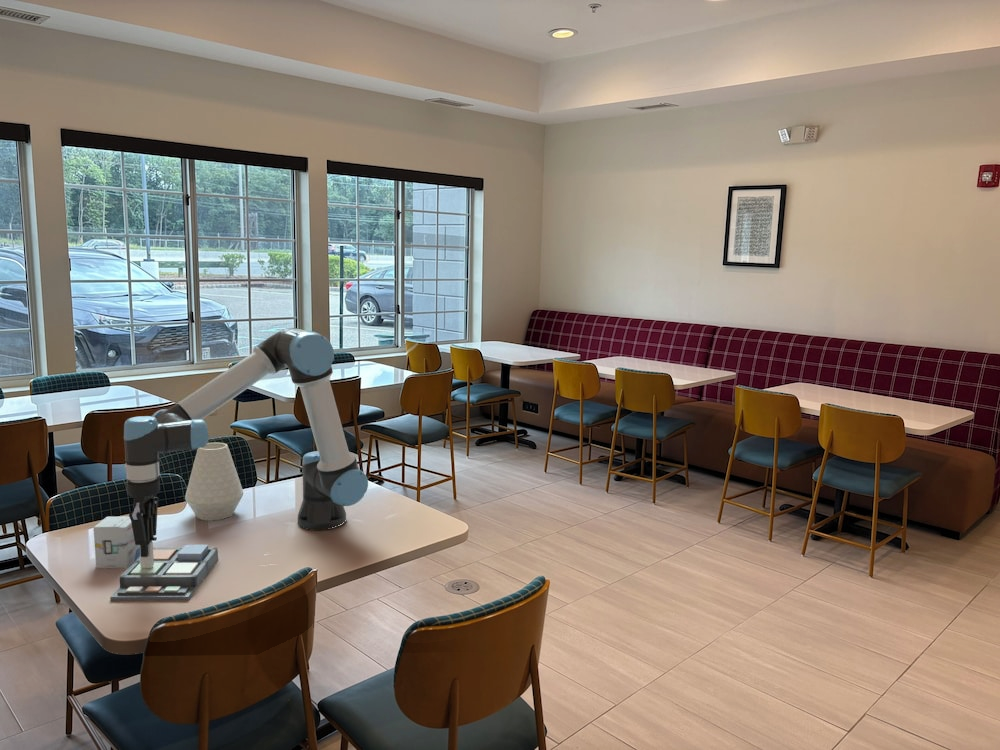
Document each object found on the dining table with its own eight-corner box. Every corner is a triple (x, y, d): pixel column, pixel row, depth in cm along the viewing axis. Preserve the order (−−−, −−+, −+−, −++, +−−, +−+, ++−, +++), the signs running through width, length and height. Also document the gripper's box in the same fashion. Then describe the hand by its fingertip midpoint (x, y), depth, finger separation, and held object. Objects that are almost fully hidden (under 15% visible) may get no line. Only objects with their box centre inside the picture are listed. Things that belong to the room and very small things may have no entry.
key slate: (208, 553, 199) (208, 544, 198) (201, 562, 193) (201, 553, 192) (185, 553, 198) (185, 544, 198) (178, 562, 192) (177, 553, 192)
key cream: (198, 571, 191) (197, 562, 190) (190, 581, 185) (190, 572, 184) (174, 571, 190) (174, 562, 190) (166, 582, 184) (165, 572, 184)
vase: (209, 503, 245) (207, 436, 242) (254, 509, 241) (253, 442, 237) (173, 520, 229) (170, 449, 225) (221, 527, 224) (218, 455, 221)
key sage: (164, 571, 190) (164, 562, 189) (155, 581, 184) (155, 572, 183) (140, 571, 189) (140, 562, 189) (131, 581, 183) (130, 572, 183)
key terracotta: (176, 558, 198) (175, 549, 198) (168, 567, 192) (167, 558, 192) (153, 558, 198) (153, 549, 197) (144, 567, 192) (144, 558, 191)
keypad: (218, 559, 201) (217, 547, 201) (188, 600, 178) (188, 586, 177) (149, 559, 200) (148, 547, 199) (110, 601, 176) (109, 587, 176)
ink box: (109, 555, 202) (106, 515, 200) (141, 555, 203) (138, 515, 201) (95, 568, 194) (92, 526, 192) (128, 568, 194) (125, 527, 192)
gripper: (138, 470, 188) (142, 556, 192) (116, 486, 176) (121, 577, 179) (168, 470, 189) (171, 556, 193) (148, 486, 176) (152, 577, 180)
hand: (147, 566), depth 186 cm, fingers closed
